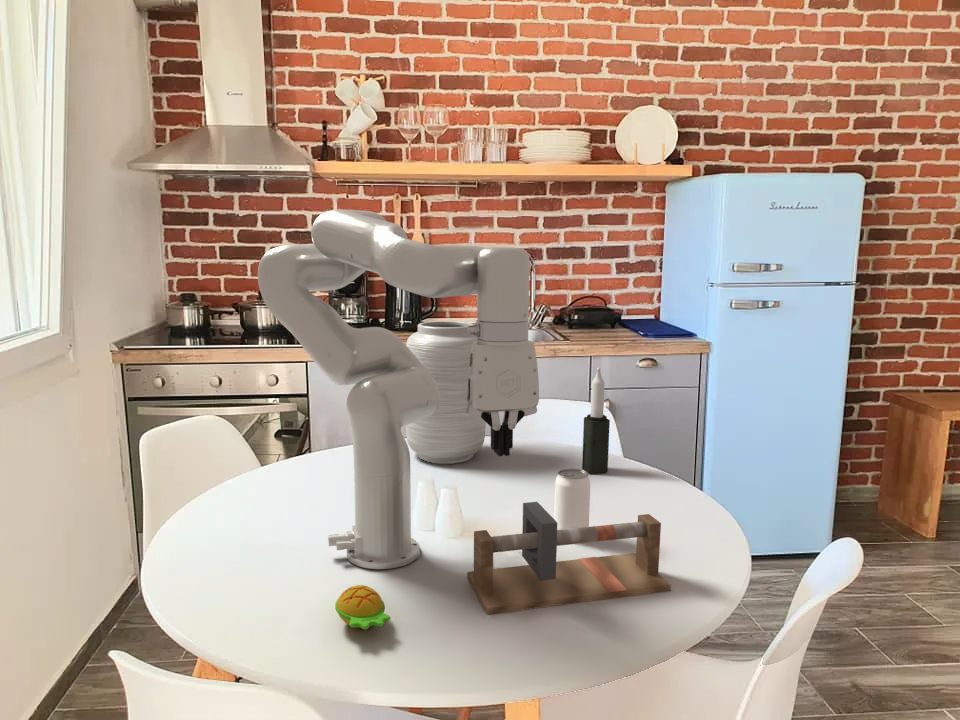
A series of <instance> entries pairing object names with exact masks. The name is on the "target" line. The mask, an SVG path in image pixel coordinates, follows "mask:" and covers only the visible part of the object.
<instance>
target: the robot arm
mask: <svg viewBox="0 0 960 720" xmlns="http://www.w3.org/2000/svg"><path fill="white" fill-rule="evenodd" d="M310 236H311V241H312V243H313V244H309V243H308V244H306V243H304V244H284V245H281V246H277V247H274V248H271V249H269V250H268V251H267V252H266V253H264V255H263V256H262V257H261V259H260V261H259V263H258V267H257V283H258V288H259V292H260V294H261V297H262V299H263V301H264V304H265V306H266V307H267V309H268V310H269V311H270V313H271V314H272V315H273V316H274V317H275V319H276V320H277V321H278V322H280V324H281V325H282V326H283V327H284V328H286V330H287V331H288V332H290V334H292V336H293V337H294V338H295V339H296V340H297V341H298V343H299V344H300V346H301V348H303V349H304V350H305V352H306V353H307V354H308V356H309V357H310V358H311V359H312V361H313V362H314V363H315V365H317V366H318V368H319V369H320V370H321V372H322V373H323V374H324V376H326V378H327V379H329V381H331V382H332V383H333V384H334V385H335V384H336V385H338V386H352V385H353V387H352V388H351V389H350V391H349V393H348V395H347V397H346V413H347V417H348V418H347V419H348V422H349V427H350V432H351V438H352V450H353V471H354V474H353V475H354V516H355V517H354V523H355V524H354V525H352V528H351V531H350V530H349V531H346V533H342V534H339V533H337V534H335V533H334V534H328V536H327V539H328V540H327V541H328V543H327V544H328V547H336V551H341V550H342V551H343V550H346V557H347V560H348V561H349V562H350V563H352V564H353V565H355V566H357V567H360V568H364V569H370V570H389V569H396V568H400V567H403V566H405V565H408V564H411V563H412V562H414V561H415V560H416V559H417V558H419V555H420V551H421V548H420V547H421V546H420V543H419V542H418V541H417V540H416V539H414V538H413V537H412V530H411V528H412V524H411V523H412V522H411V521H412V518H411V513H412V512H411V509H412V508H411V504H412V503H411V502H412V501H411V500H412V499H411V454H410V448H409V445H408V442H407V440H405V437H404V435H403V433H402V428H403V427H406V425H408V424H411V423H414V422H418V421H421V420H423V419H426V418H428V417H429V416H431V415H432V414H433V413H434V412H435V411H436V409H437V407H438V405H439V400H440V394H439V389H438V386H437V383H436V381H435V380H434V378H433V376H432V375H431V374H430V372H429V371H428V370H427V369H426V368H425V366H424V365H423V364H422V363H421V362H420V361H419V360H418V358H417V357H416V356H415V355H414V354H413V353H412V352H411V350H410V349H409V348H408V347H407V346H406V344H405V342H404V341H403V340H402V339H401V338H400V337H399V336H398V335H397V334H395V333H394V332H393V331H391V330H390V329H387V328H385V327H380V326H369V327H368V326H367V327H361V328H357V327H354V326H353V327H352V326H351V325H349V324H348V323H347V322H346V321H345V319H343V317H341V315H340V314H339V312H338V311H336V309H335V308H334V307H333V306H331V305H330V304H329V303H328V302H326V301H324V300H323V299H321V298H319V296H316V295H315V294H313V292H325V291H326V292H327V291H335V290H339V289H342V288H344V287H346V286H348V285H350V284H351V283H352V282H354V281H355V280H357V278H358V277H360V276H361V275H362V274H364V273H365V272H366V271H369V272H372V273H374V274H378V276H379V277H380V279H382V280H383V281H384V282H385V283H387V284H388V285H389V286H392V287H394V288H397V289H399V290H403V291H406V292H409V293H412V294H414V295H418V296H422V297H427V298H432V299H433V298H434V299H441V298H442V299H443V298H451V297H463V296H464V297H465V296H471V295H472V296H473V295H477V296H476V297H477V300H476V301H477V303H476V304H477V309H476V310H477V312H476V314H477V315H476V317H477V318H476V319H477V320H475V322H474V324H473V326H468V335H475V336H476V338H477V341H474V342H473V345H472V349H471V354H470V361H469V369H468V381H467V400H468V407H467V411H466V414H467V415H468V416H469V417H471V418H477V419H483V420H484V421H485V422H486V424H487V425H488V426H489V427H490V449H491V450H492V451H493V452H494V454H496V455H497V456H498V457H503V456H505V457H508V456H510V455H511V450H510V449H513V442H514V429H516V428H517V424H518V423H520V422H521V420H523V418H524V417H528V416H532V415H534V414H536V413H537V412H538V408H537V406H538V405H539V403H540V402H539V401H540V380H539V370H538V367H539V366H538V359H537V351H536V347H535V342H534V341H531V340H529V324H530V323H529V317H530V315H529V309H530V308H529V307H530V305H529V304H530V256H529V253H528V252H527V250H525V249H524V248H521V247H510V246H509V247H506V246H505V247H501V246H500V247H498V246H497V247H483V246H477V245H464V244H463V245H459V244H453V245H452V244H449V245H448V244H446V245H443V244H442V245H439V244H438V245H435V244H428V243H424V242H421V241H420V242H419V241H417V240H412V239H410V238H408V235H407V233H406V231H405V229H404V228H403V227H402V226H401V225H399V224H397V223H394V222H390V221H387V220H386V218H385V217H384V216H382V215H381V214H380V213H377V212H376V211H375V212H374V211H370V210H359V209H357V210H356V209H331V210H327V211H325V212H323V213H321V214H320V215H319V216H318V217H316V219H315V220H314V222H313V224H312V226H311V229H310ZM500 412H503V419H502V422H501V418H500Z"/></svg>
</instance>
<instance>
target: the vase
mask: <svg viewBox="0 0 960 720" xmlns="http://www.w3.org/2000/svg"><path fill="white" fill-rule="evenodd" d="M473 325H474V324H473V323H471V322H467V321H456V320H455V321H454V320H453V321H452V320H451V321H450V320H433V321H424V322H419V323H418V324H417V331H416V332H414V333H412V334H411V335H410V336H409V337H408V338H407V340H406V344H405V345H406V346H407V347H408V348H409V349H410V350H411V352H412V353H413V354H414V355H415V356H416V357H417V358H418V360H419V361H420V362H421V363H422V364H423V365H424V366H425V368H426V369H427V370H428V371H429V372H430V374H431V375H432V376H433V378H434V380H435V381H436V383H437V386H438V389H439V394H440V400H439V405H438V407H437V409H436V411H435V412H434V413H433V414H432V415H431V416H429V417H428V418H426V419H423V420H421V421H418V422H414V423H411V424H408V425H406V426H405V433H406V435H405V436H406V443H407V445H408V447H410V448H409V449H411V450H412V451H413V452H414V453H415V454H417V457H418V458H419V459H420V460H421V459H422V460H421V461H423V460H424V462H426V461H427V463H430V462H431V463H432V464H440V465H441V464H442V465H449V464H450V465H452V464H459V463H464V462H467V461H469V460H471V459H472V458H473V457H474V455H475V454H476V453H477V452H478V451H480V449H481V448H482V447H483V445H484V441H485V438H486V428H487V427H486V426H487V425H486V424H487V423H486V422H485V421H484V420H483V419H477V418H471V417H469V416H468V415H467V414H466V411H467V407H468V400H467V381H468V369H469V361H470V354H471V349H472V345H473V342H474V341H477V338H476V336H475V335H468V326H473Z"/></svg>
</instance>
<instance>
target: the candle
mask: <svg viewBox="0 0 960 720" xmlns="http://www.w3.org/2000/svg"><path fill="white" fill-rule="evenodd" d="M590 392H591V393H590V394H591V395H590V397H591V398H590V399H591V400H590V414H587V415H586V416H584V417H583V431H582V432H583V435H582V463H581V465H582V466H581V470H584V471H586V472H587V473H588V475H602V474H607V473H608V472H609V471H608V469H609V467H608V466H609V450H610V449H609V447H610V423H611V420H610V419H608V418H607V415H605V414H604V403H605V401H604V400H605V380H604V379H603V376H602V374H601V367H597V368H596V374H595V377H594V378H593V380H592V381H591V391H590Z"/></svg>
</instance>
